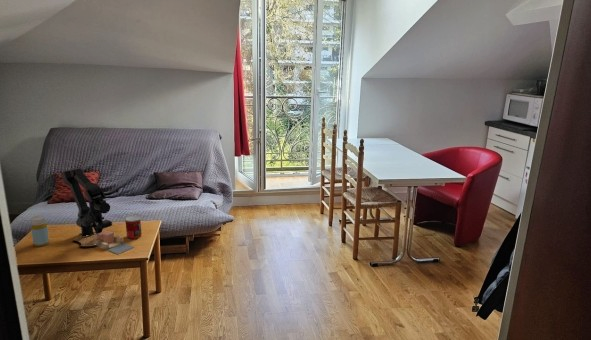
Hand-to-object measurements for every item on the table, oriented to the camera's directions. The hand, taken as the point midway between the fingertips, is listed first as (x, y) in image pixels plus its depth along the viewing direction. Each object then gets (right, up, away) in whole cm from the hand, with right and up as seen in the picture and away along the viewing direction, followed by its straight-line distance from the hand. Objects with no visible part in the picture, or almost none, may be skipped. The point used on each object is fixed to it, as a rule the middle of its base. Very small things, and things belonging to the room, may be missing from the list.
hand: (98, 235), depth 225 cm
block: (+5, -3, -3) cm, 7 cm away
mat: (+16, -5, -9) cm, 19 cm away
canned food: (+17, -1, +6) cm, 18 cm away
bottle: (-28, -4, -5) cm, 29 cm away
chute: (+7, -4, -4) cm, 9 cm away
